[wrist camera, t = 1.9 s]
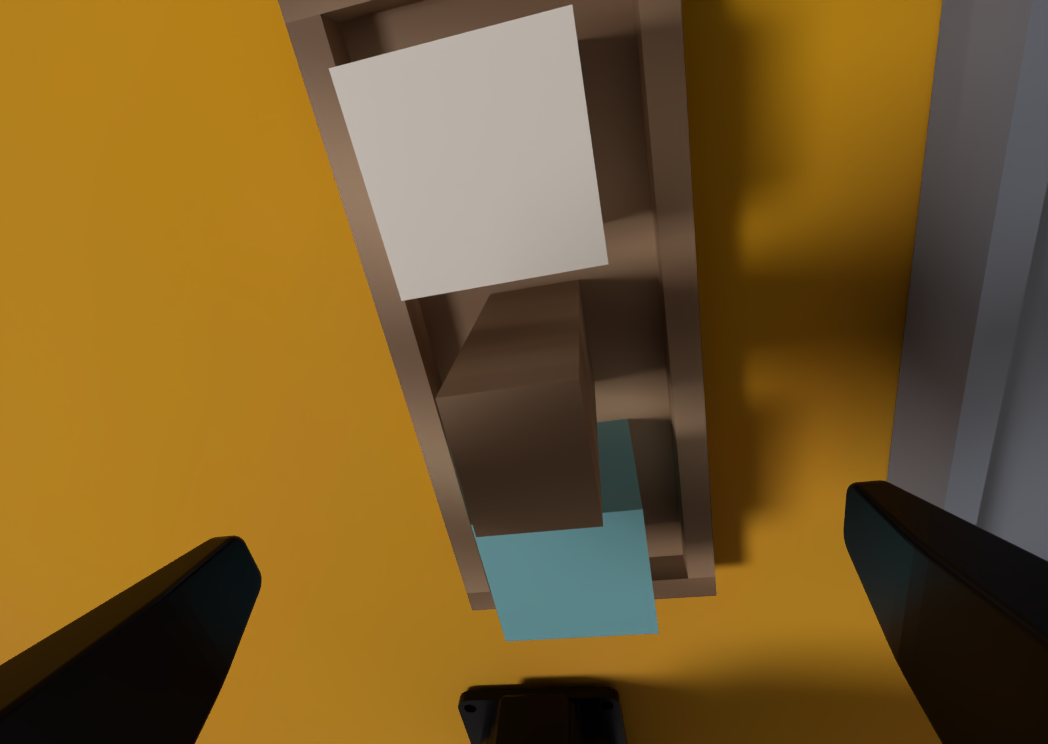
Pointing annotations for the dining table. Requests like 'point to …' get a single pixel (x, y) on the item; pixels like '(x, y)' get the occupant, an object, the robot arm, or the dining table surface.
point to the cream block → (478, 155)
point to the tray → (981, 280)
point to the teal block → (579, 563)
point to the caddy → (550, 300)
